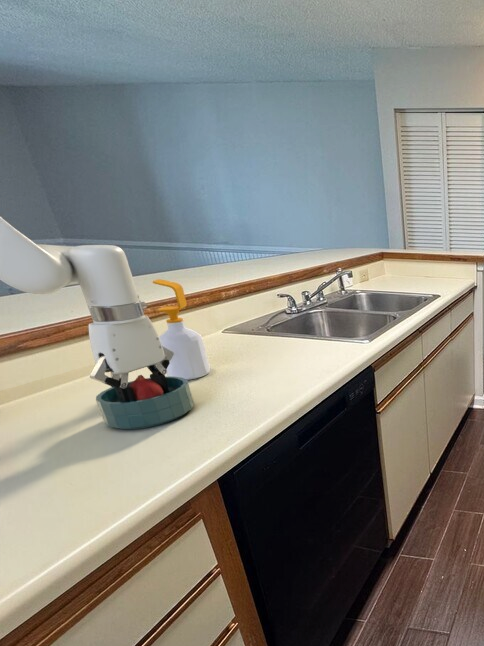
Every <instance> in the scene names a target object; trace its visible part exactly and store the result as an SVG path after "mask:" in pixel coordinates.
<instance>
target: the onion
mask: <svg viewBox="0 0 484 646" xmlns="http://www.w3.org/2000/svg"><path fill="white" fill-rule="evenodd" d="M132 381H133V382H132V383H131V384H130V385H129V387H132V389H133V392H134V395H135V398H136V401H139V400H144V399H149V398H154V397H157V396H161V395H164V393H163V389H162V387H161V386H160V385H159V384H157V383H156V382H154V381H152V380H149V379H146V378H145V377H144V375H142V374H139V375H137V377H136V378H135V379H133V380H132Z"/></svg>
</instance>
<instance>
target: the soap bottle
mask: <svg viewBox="0 0 484 646" xmlns="http://www.w3.org/2000/svg"><path fill="white" fill-rule="evenodd" d="M152 284H153V285H159V286H163V287H167V288H170V289H171V290H173V292H174V294H175V298H176V302H177V305H176V306H175V305H173V306H171V305H170V306H162V307H160V308H158V309H157V311H158V312H164V313H165V315H168V319H166V321H165V322H166V325H167V330H166V331H164V332H162V333H161V334H160V335H159V339H160V341H161V344H162V346H163V347H165V348H167V349H168V350H170V351H172V352H173V353H174V355H173V357H172V359H171V361H169V362H170V364H169V366H168V367H167V369H166V370H167V373H166V375H167V377H181V378H184V379H186V380H187V381H191V380H195V379H199V378H202V377H205V376H206V375H208V374H210V373H211V367H210V362H209V358H208V355H207V351H206V348H205V343H204V339H203V336H202V335H201V334H200V333H199V331H196V330H194V329H191V328H188V327H186V326H185V323H184V320H183V318H182V317H179V316H178V314H180V310H182V309H184V308H186V307H187V305H188V302H187V299H186V295H185V291H184V287H183V286H182V285H181V284H180V283H177V282H174V281H169V280H165V279H162V278H161V279H160V278H158V279H154V280H152Z"/></svg>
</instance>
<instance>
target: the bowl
mask: <svg viewBox="0 0 484 646" xmlns="http://www.w3.org/2000/svg"><path fill="white" fill-rule="evenodd" d="M165 378H166V381H167V384H168V389H169V392H168V393H164V395H161V396H157V397H154V398H149V399H144V400H139V401H131V402H120V400H119V398H118V395H117V392H116V389H115V387H111V386H110V387H109V388H107V389H105V390H102V391H100V393H98V394H97V395H96V397H95V402H96V405H97V406H98V410H99V412H100V414H101V415H100V416H101V418H102V420H103V422H104V425H106V426H108V427H109V428H116V429H120V430H139V429H147V428H152V427H156V426H160V425H165V424H167V423H170V422H172V421H175V420H177V419H179V418H181V417H183V416H184V415H186V414H187V413H188V412H189V411H190V410H192V409H193V408H194V406H195V402H194V397H193V395H192V391H191V387H190V384H189V382H188V381H189V380H186V379H184V378H181V377H168V376H165ZM145 379H149V380H151V379H150V377H146V378H145ZM133 381H134V380H132V381H131V380H130V381H128V387H129V385H130V384H131V383H132V382H133Z"/></svg>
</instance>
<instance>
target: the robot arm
mask: <svg viewBox="0 0 484 646" xmlns="http://www.w3.org/2000/svg"><path fill="white" fill-rule="evenodd" d="M133 277H134V276H133V274H132V270H131V268H130V265H129V261H128V258H127V255H126V253H125V251H124V250H123V249H122V248H121V247H119V246H118V245H114V244H82V245H75V246H72V245H71V246H70V245H69V246H68V245H57V244H56V245H55V244H43V243H42V244H41V243H39V244H37V243H35V242H34V241H33V240H31V239H30V238H29V237H27V236H26V235H25V234H24V233H22V232H20V231H19V230H18V229H17V228H15V227H14V226H13V225H11V224H10V223H9V222H8V221H6V219H4V218H3V217H2V216H0V281H1V282H3V283H5V284H6V285H8V286H10V287H12V288H13V289H16V290H18V291H21V292H25V293H28V294H32V295H48V294H52V293H55V292H57V291H60V290H61V289H63V288H64V287H67V286H71V285H79V286H80V288H81V291H82V294H83V297H84V300H85V303H86V305H87V308H88V311H89V314H90V316H91V319H92V322H89V323H88V337H89V338H88V339H89V343H90V344H89V345H90V348H91V352H92V355H93V359H94V362H95V365H94V367H93V369H92V371H91V372H90V374H89V379H91V380H94V381H97V382H100V383H102V384H104V385H107V386H110V388H111V387H115V389H116V392H117V395H118V398H119V400H120V402H131V401H136V398H135V395H134V392H133V389H132V387H128V382H129V373H132V372H135V371H138V370H141V369H144V368H147V369H148V370H149V371H150V373H151V374H149V378H150V379H151V380H152V381H154V382H156V383H157V384H159V385H160V386H161V387H162V389H163V393H168V392H169V389H168V384H167V381H166V378H165V377H166V375H167V370H166V369H167V367H168V366H169V364H170V362H169V361H171V359H172V357H173V355H174V353H173V352H172V351H170V350H168V349H167V348H165V347H163V346H162V344H161V341H160V339H159V337H160V335H159V334H158V333H157V330H156V328H155V326H154V324H153V322H152V321H151V319H150V318H149V315H146V314H145V311H144V309H147V308H148V304H147V303H146V302H145V301H141V300H140V297H139V294H138V290H137V287H136V283H135V279H134V278H133ZM106 373H110V376H108V375H106Z"/></svg>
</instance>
